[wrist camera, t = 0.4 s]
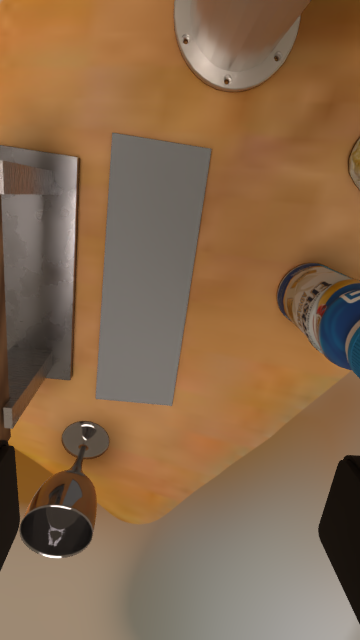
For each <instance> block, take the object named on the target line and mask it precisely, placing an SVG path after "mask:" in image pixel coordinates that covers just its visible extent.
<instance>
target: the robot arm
mask: <svg viewBox="0 0 360 640" xmlns="http://www.w3.org/2000/svg"><path fill="white" fill-rule="evenodd" d="M310 1H311V0H175V2H174V29H175V34H176V39H177V43H178V46H179V49H180V51H181V54H182V56H183V58H184V60H185V61H186V63H187V65H188V67H189V68H190V69H191V70H192V71H193V73H194V74H195V75H196V76H197V77H198V78H199V79H201V80H202V81H203V82H204V83H206V84H207V85H209V86H211V87H213V88H215V89H218V90H223V91H227V92H240V91H244V90H249V89H252V88H254V87H256V86H258V85H260V84H262V83H263V82H264V81H266V80H267V79H269V78H270V77H271V76H272V75H273V74H274V73H275V72H276V71H277V70H278V69H279V67H280V66H281V65H282V64H283V63H284V61H285V60H286V58H287V56H288V54H289V53H290V51H291V49H292V47H293V44H294V42H295V39H296V36H297V33H298V29H299V24H300V18H301V13H302V12H303V10H304V9H305V8H306V6H307V5H308V4H309V3H310ZM184 40H187V41H188V44H184V43H183V41H184ZM274 57H276V58H277V59H278V61H275V59H274ZM224 80H228V84H225V83H224ZM17 489H18V488H17V476H16V462H15V450H14V447H13V446H9V445H8V442H7V440H0V570H1V568H2V566H3V563H4V561H5V559H6V557H7V555H8V552H9V550H10V548H11V545H12V543H13V541H14V539H15V536H16V534H17V531H18V528H19V522H20V514H19V501H18V490H17ZM318 532H319V537H320V540H321V543H322V544H323V547H324V549H325V551H326V553H327V555H328V558H329V560H330V562H331V564H332V566H333V568H334V570H335V572H336V575H337V577H338V579H339V581H340V583H341V585H342V587H343V590H344V592H345V594H346V596H347V598H348V600H349V602H350V604H351V607H352V609H353V611H354V613H355V615H356V617H357V619H358V622H359V624H360V456H353V455H347V456H345V457H344V459H343V460H341V461H340V462H339V463H338V466H337V469H336V472H335V476H334V479H333V482H332V485H331V488H330V492H329V495H328V498H327V501H326V505H325V508H324V511H323V514H322V517H321V520H320V524H319V528H318Z"/></svg>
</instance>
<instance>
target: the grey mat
mask: <svg viewBox="0 0 360 640" xmlns="http://www.w3.org/2000/svg"><path fill="white" fill-rule="evenodd" d="M210 155H211V149H209V148H203V147H197V146H191V145H185V144H178V143H172V142H166V141H160V140H154V139H148V138H142V137H136V136H129V135H123V134H117V133H112V146H111V162H110V178H109V194H108V210H107V226H106V242H105V258H104V274H103V290H102V306H101V322H100V338H99V354H98V370H97V386H96V399H104V400H115V401H126V402H137V403H148V404H158V405H169V406H172V402H173V396H174V389H175V383H176V376H177V370H178V363H179V357H180V350H181V344H182V337H183V331H184V324H185V318H186V311H187V305H188V298H189V292H190V285H191V279H192V272H193V266H194V259H195V253H196V246H197V240H198V233H199V227H200V220H201V214H202V207H203V201H204V194H205V188H206V181H207V175H208V168H209V162H210Z"/></svg>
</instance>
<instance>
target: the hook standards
mask: <svg viewBox="0 0 360 640" xmlns="http://www.w3.org/2000/svg"><path fill="white" fill-rule="evenodd" d="M79 170H80V158H78V157H73V156H66V155H60V154H53V153H47V152H40V151H34V150H28V149H21V148H15V147H8V146H2V145H0V194H1V206H2V231H3V257H4V282H5V307H6V332H7V357H8V383H9V401H8V402H7V403H6V405H5V406H4V407H3V411H4V428H12V429H13V427H14V426H15V424H16V423H17V421H18V420H19V418H20V416H21V415H22V413H23V412H24V410H25V409H26V407H27V406H28V404H29V403H30V401H31V399H32V398H33V396H34V395H35V393H36V392H37V390H38V389H39V387H40V385H41V384H42V382H43V381H44V379H45V378H52V379H62V380H71V378H72V375H73V346H74V316H75V287H76V258H77V229H78V200H79Z"/></svg>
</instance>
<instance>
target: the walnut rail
mask: <svg viewBox="0 0 360 640" xmlns="http://www.w3.org/2000/svg"><path fill="white" fill-rule="evenodd" d="M8 401H9V383H8V357H7V332H6V307H5V282H4V257H3V231H2V206H1V194H0V440H7V442H8V440H9V439H10V437H11V433H10V428H4V411H3V407H4V406H5V405H6V403H7V402H8Z"/></svg>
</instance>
